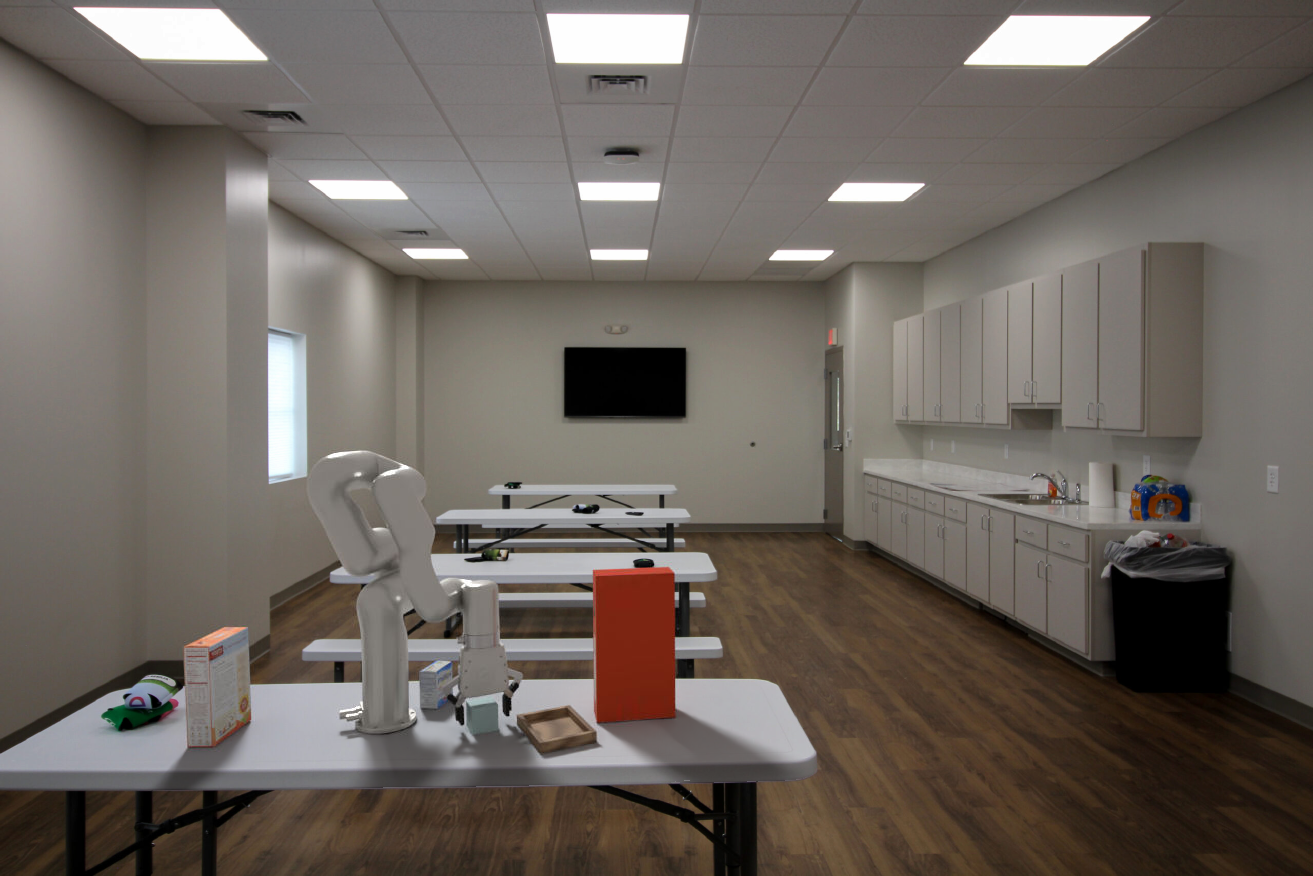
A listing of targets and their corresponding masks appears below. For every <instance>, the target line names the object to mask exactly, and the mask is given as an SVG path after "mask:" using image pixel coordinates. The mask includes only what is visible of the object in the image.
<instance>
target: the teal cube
mask: <svg viewBox="0 0 1313 876" xmlns="http://www.w3.org/2000/svg"><path fill="white" fill-rule="evenodd" d="M465 707H466V708H465V709H466V710H465V712H466V713H465V714H466V719H465V720H466V722H465V723H466V725H465V726H466V727H467V728H468V730H469V732H470V734H471V736H474V735H479V734H480V735H481V734H485V733H490V732H496V731H498V730H499V704H498V703H497V702H496V700H495V698H494V697H493V696H492V695H491V696H486V697H484V696H483V697H480V698H478V697H477V698H474V699H473V698H471V699H469V700H466V699H465Z"/></svg>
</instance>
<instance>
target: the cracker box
mask: <svg viewBox="0 0 1313 876" xmlns="http://www.w3.org/2000/svg"><path fill="white" fill-rule="evenodd" d="M249 645H250V643H249V627H248V626H239V627H237V626H236V627H235V626H225V627H222V628H220V629H218V630H215V631H214V632H211V633H209V634H207V635H205V636H203V637H201V638H199V639H197V640H195V641H193V642H191V643H188V644H187V645H184V646H183V647H182V650H183V651H182V653H183V671H184V673H183V674H184V675H183V677H184V694H185V696H184V697H185V718H186V720H185V721H186V740H187V741H186V742H187V743H186V744H187V748H215V747H216V746H217V745H219V744H220V743H221V742H223V741H225V740H226V739H227V738H228V737H230V736H232V734H234V733H236V732H237V731H238V730H240V729H241V728H242V727H243V726H245V725H246V724H248V723H249V722H250V721H252V701H251V700H252V699H251V695H252V694H251V674H250V672H251V671H250V668H251V667H250V646H249Z"/></svg>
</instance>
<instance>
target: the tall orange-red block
mask: <svg viewBox="0 0 1313 876" xmlns="http://www.w3.org/2000/svg"><path fill="white" fill-rule="evenodd" d="M675 574H676V573H675V572H674V571H673V570H672V568H670V566H662V567H661V566H659V567H656V566H654V567H635V568H634V567H631V568H608V569H593V570H592V616H593V617H592V620H593V621H592V625H593V626H592V628H593V630H592V632H593V633H592V635H593V636H592V637H593V639H592V641H593V643H592V647H593V649H592V650H593V655H592V656H593V712H594V717H595V721H596V723H597V724H598V723H610V722H612V723H613V722H625V721H640V720H652V719H654V720H655V719H666V718H667V719H668V718H676V592H675V591H676V589H675V586H676V584H675V581H676V579H675V578H676V577H675V576H676V575H675Z"/></svg>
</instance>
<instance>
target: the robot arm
mask: <svg viewBox="0 0 1313 876" xmlns="http://www.w3.org/2000/svg"><path fill="white" fill-rule="evenodd" d="M427 487H428V486H427V482H426V479H425V478H424V476H423V475H422V473H420V471H418V470H417V469H415V468H413V467H411V466H408V465H405V464H403V463H401V462H398V461H395V460H393V459H391V458H388V457H387V456H384V455H381V454H378V453H375V452H373V451H369V450H355V451H354V450H353V451H342V452H335V453H331V454H328V455H326V456H323V457H322V458H321V459H319V460H318V461H317V462H316V463H315V464H314V465H313V467H312V468H311V470H310V472H309V475H308V477H307V481H306V493H307V497H308V501H309V503H310V505H311V508H312V510H313V511H314V513H315V515H316V516H317V518H318V519H319V522H320V523H321V525H322V526H323V527H322V528H324V531H325V533H326V535H327V538H328V540H329V541H330V544H331V546H332V548H333V549H334V552H335V553H336V556H337V558H338V560H339V562H340V564H341V565H342V568H343V569H344V570H345V572H346V573H348V575H350V576H352V577H353V578H364V577H365V578H366V577H368V576H371V575H373V576H374V577H375V579H373V580H372V581H369V582H368V583H367V584H366V585H364V587H362V589H361V590H360V592H359V594H358V596H357V599H356V607H355V609H356V614H357V615H356V616H357V619H358V624H359V630H360V644H361V647H360V648H361V649H360V650H361V651H360V652H361V689H362V690H361V692H362V697H361V698H362V700H361V701H359V705H357V706H355V707H354V708H350V709H349V708H346V709H341V710H339V713H338V715H339V720H346V722H353V721H354V726H355V727H354V728H355V729H356V730H357V731H359V732H361V733H364V734H370V735H371V734H372V735H373V734H374V735H375V734H376V735H379V734H388V733H394V732H397V731H401V730H405V729H407V728H408V727H410V726H412V725H413V724H414V723H415V722H416V721H417V717H418V716H417V712H416V710H414V709H413V708H410V689H409V688H410V687H409V683H410V681H409V679H410V678H409V639H408V638H409V637H408V632H407V627H406V624H405V621H404V614H406V613H408V612H410V611H411V610H413V609H414V610H415V612H416V614H417V615H418V616H419V617H420V618H421V619H422V620H424V621H425V622H427V623H431V624H437V623H441V622H444V621H445V620H447V619H448V618H450V617H452V616H453V615H455V614H457V613H461V612H462V625H463V626H462V630H463V632H462V634H461V636H458V637H456V644H457V645H459V644H460V645H463V646H461V647H460V649H459V655H458V656H459V657H458V667H457V675H456V676H455V677H452V680H450V681H449V682H447V683H446V684H444V685H443V686H442V687H441V689H442V691H443V693H444V694H445V696H446V698H447V699H448V701H449V702H450V703H451V704H453V705H454V715H455V717H454V718H455V721H456V722H458V724H459V725H460V726H464V725H465V707H464V705H463V703H464V702H466V699H473V698H478V697H484V696H489V695H495V694H500V693H503V694H502V695H501V702H502V704H501V706H502V713H503V715H504V716H505V717H506V718H508V717H510V716H511V715H510V711H512V708H513V707H512V698H513V697H514V693H515V692H516V691H517V690H518V689H519V687H520V684H521V682H522V680H523V678H524V675H523V673H522V672H520V671H517V670H514V669H512V668H509V667H508V659H507V654H506V648H505V644H504V643H503V642H501V639H500V638H501V637H500V635H501V633H500V632H501V631H500V602H499V601H500V600H499V599H500V597H499V585H498V584H497V582H495V581H493V580H489V579H478V580H469V579H463V578H459V577H447V578H444V579H442V580H439V578H438V576H437V574H436V571H435V569H434V566H433V561H432V548H433V547H432V546H433V544H434V540H435V537H436V536H435V535H436V529H435V526H434V524H433V522H432V520H431V518H430V516H429V514H428V513H427V511H426V509H425V507H424V505H423V503H422V500H423V499H424V498H425V496H426V494H427V491H428V489H427ZM361 489H365V490H369V491H370V492H371V496H372V499H373V502H374V503H375V505H376V508H377V509H378V511H379V513H380V515H381V517H382V520H383V521H384V523H385V525H386V527H387V528H386V527H373V528H372V527H371V525H370V523H369V521H368V519H367V517H366V516H365V513H364V510H363V509H362V508H361V507H360V505H359V504H358V503H357V502H356V501H355V500H354V499H353V498H352V496H351V495H350V492H351V491H354V490H355V491H356V490H361ZM509 677H512V678H514V679H513V681H512V682H511V683H510V678H509ZM456 686H457V689H458V692H457V693H456V694H455V695H454V693H453V694H451V692H450V690H451V689H452V688H454V687H456Z"/></svg>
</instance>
